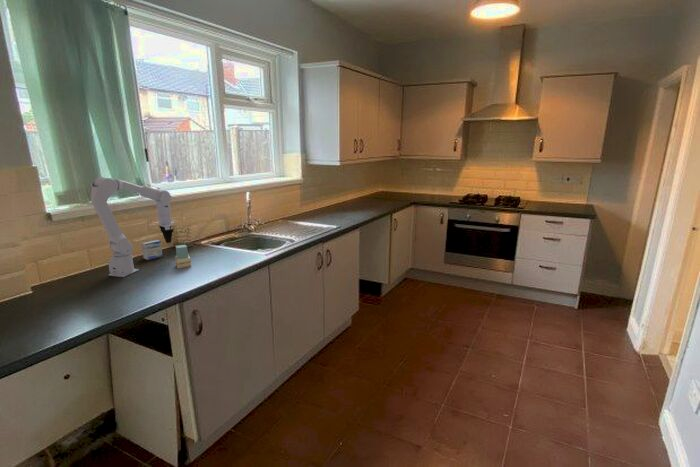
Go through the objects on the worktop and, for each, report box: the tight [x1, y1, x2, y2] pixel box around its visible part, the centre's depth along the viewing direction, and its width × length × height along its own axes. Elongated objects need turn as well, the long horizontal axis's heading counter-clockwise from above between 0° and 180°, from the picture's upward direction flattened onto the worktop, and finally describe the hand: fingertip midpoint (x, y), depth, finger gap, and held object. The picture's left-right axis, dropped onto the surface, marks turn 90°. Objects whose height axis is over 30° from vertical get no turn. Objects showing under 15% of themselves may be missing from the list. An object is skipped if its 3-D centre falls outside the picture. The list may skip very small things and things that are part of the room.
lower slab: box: [175, 262, 192, 269], centre depth 181 cm, size 6×6×2 cm
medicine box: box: [141, 239, 163, 261], centre depth 192 cm, size 8×4×9 cm, turn 143°
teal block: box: [175, 244, 189, 259], centre depth 179 cm, size 4×4×6 cm
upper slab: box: [174, 254, 192, 265], centre depth 180 cm, size 6×6×2 cm
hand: (167, 240), depth 186 cm, fingers open, 7 cm apart
